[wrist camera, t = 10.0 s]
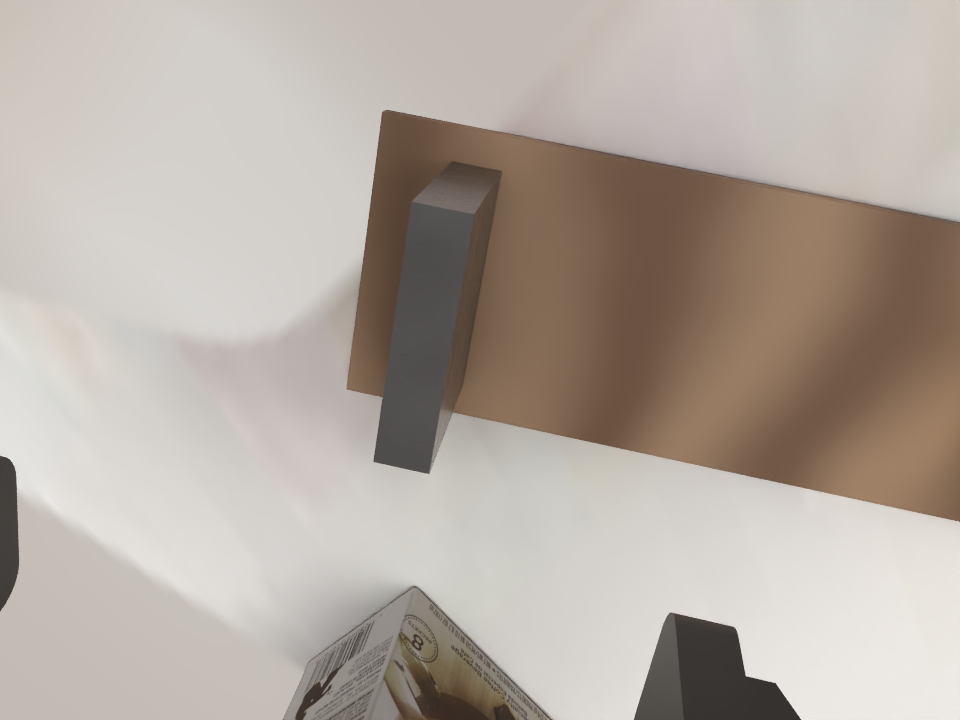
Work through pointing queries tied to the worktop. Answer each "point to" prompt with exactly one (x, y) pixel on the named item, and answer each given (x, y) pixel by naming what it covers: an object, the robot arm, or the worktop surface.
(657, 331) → the walnut strip
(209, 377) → the worktop surface
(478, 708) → the coffee box
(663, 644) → the robot arm
